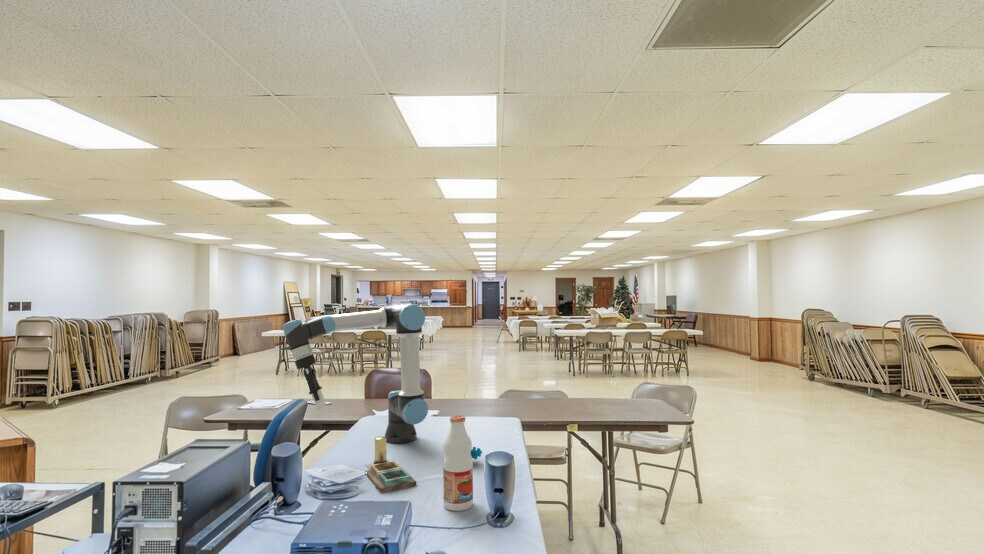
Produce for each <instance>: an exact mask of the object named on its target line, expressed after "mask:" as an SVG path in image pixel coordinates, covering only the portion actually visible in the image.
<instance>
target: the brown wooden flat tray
mask: <svg viewBox="0 0 984 554" xmlns="http://www.w3.org/2000/svg"><path fill="white" fill-rule="evenodd" d="M389 461H390V460H389ZM372 464H373V465H370V470H369V469H368V470H365V471H364V473H365V472H367V476H366V477H367V478H368V479H369V480H370V481H371V483H372V484H374V486H375V489H378V490H379V491H380V492H379V491H378V490H377V491H378V492H379V493H380V494H382V493H381V492H383V493H387V492H386V491H388V492H391V490H393V491H397V490H401V488H402V489H405V487H407V488H410V486H411V487H415V486H414V485H416V486H417V480H416V479H415V478H413V477H412V476H411V475H410V474H409V473H408V472H407V471H406V470H405V469H403V467H401V466H400V465H399V464H398V463H397V462H396V461H395V460H391V461H390V462H384V463H379V464H374V463H372Z"/></svg>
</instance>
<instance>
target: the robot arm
mask: <svg viewBox="0 0 984 554" xmlns="http://www.w3.org/2000/svg"><path fill="white" fill-rule="evenodd" d="M425 320H426V314H425V312H424V310H423V309H422V308H421V306H419V304H414V303H398V304H395V305H391V306H385V307H381V308H379V309H377V310H369V311H368V310H367V311H357V312H348V313H341V314H340V313H339V314H326V315H321V316H309V317H308V318H306V319H305V320H304V321H302V320H301V319H299V318H297V319H294V320H290V321H288V322H286V323H283V325H282V330H283V333H284V337H285V338H286V339H285V340H286V341H287V344H288V347H289V350H290V353H289V354H290V356H292V358H293V360H295V361H294V365H295V367H296V370H302V369H303V376H304V377H305V381H306V383H307V384H308V388H309V392H308V394H309V395H311V396H312V399H313V401H314V404H315V409H316V410H320V409H323V408H325V406H326V405H327V404H326V400H325V397H324V394H323V392H322V389H323V387H322V386H320V383H319V381H318V379H317V376H316V371H315V368H313V367H312V365H315V364H316V363H317V361H316V357H315V355H314V354H313V350H312V347H311V344H310V340H312V339H316V338H319V337H322V336H325V335H329V334H330V333H333V332H341V331H351V330H359V329H367V328H375V327H382V328H384V329H386V328H396V330H395V333H396V334H395V335H397V336H398V337H399V349H400V350H399V355H400V356H399V357H400V385H401V389H400V390H399V389H398V390H392V391H390V392H389V393H388V397H387V405H388V406H387V407H388V408H387V409H388V412H387V413H388V416H387V417H388V418H387V419H388V421H387V422H388V423H387V426H386V429H385V433H384V437H386V438H387V443H391V444H406V443H411V442H413V441H415V440H417V439H418V437H417V436H418V435H417V429H416V427H415V425H418V424H420V423H422V422H423V421H424V420H425V419H426V417H427V416H428V414H429V406H428V404H427V402H426V400H425V393H424V392H425V391H424V390H423V389H422V388H421V369H420V368H421V367H420V366H421V364H420V363H421V361H420V339H419V338H420V335H421V334H422V333H423V328H422V327H423V326H424V323H425V322H426V321H425Z"/></svg>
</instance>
